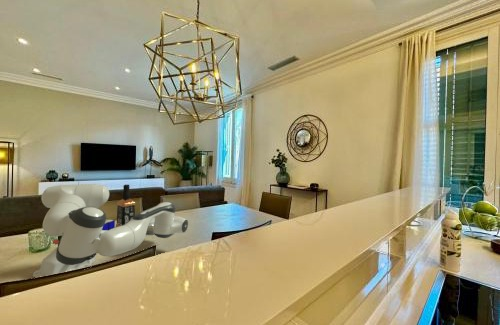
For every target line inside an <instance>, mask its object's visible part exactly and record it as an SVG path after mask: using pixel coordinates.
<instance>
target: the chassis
mask: <svg viewBox="0 0 500 325" xmlns="http://www.w3.org/2000/svg"><path fill="white" fill-rule="evenodd" d="M153 230H154V227H153V228H147V231H146V234H148V235H152V236H153V235H154V236H155V234H154V233H153Z"/></svg>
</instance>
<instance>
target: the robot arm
mask: <svg viewBox="0 0 500 325" xmlns="http://www.w3.org/2000/svg"><path fill="white" fill-rule="evenodd" d="M109 198H110V190H109V189H108V187H106V185H104V184H103V185H102V184H96V183H92V184H91V183H89V184H87V183H86V184H59V185H54V186H49V187H47V188H45V190H44V191H43V192H42V193H41V202H42V204H43V206H44V207H45V208H48V209H49V210H48V211H47V212H46V214H45V216H44V219H43V222H42V230H43V232H44V233H46V234H47V235H49V236H52V237H61V238H60V239H57V238H56V239H54V240H52V244H53V245H57V247H55V249H53V250H52V251H51V252H50V253H49V254H47V255H46V256H45V257H44V258H43V259H42V261H41V262H40V268H39V269H37V270H35V271H34V272H33V273H32V274H33V275H32V277H33V278H34V277H40V276H46V275H51V274H57V273H61V272H67V271H71V270H75V269H80V268H84V267H88V266H91V267H92V266H93V264H94V262H95V261H96V257H95V256H96V255H97V254H98V255H100V256H101V257H113V256H119V255H121V254H124V253H127V252H130V251H132V250H134V249H136V248H138V247H139V246H140V245H141V244H142V243H143V242H144V240H145V238H146V236H147V233H146V231H147V228H153V227H154V230H153V233H154V236H156V237H157V238H160V239H168V238H170V237H172V236H173V235H174V234H184V233H186V231H187V230H188V226H189V221H188V220H187V219H186V218H184V217H182V216H179V215H178V216H177V215H175V214H176V213H175V212H176V206H175V204H173V203H172V202H169V201H167V202H165V201H163V202H160V203H157V205H155V206H152V207H149V208H147V209H144V210H142V211H140V212H138V213H135V215H134V217H133V218H132V219H131V220H130V221H129V222H128V223H127V224H125V225H123V226H119V227H116V226H115V227H114V228H113V229H110V230H102V228H103V226H104V224H105V222H106V219H107V214H106V213H105V211H104V210H103V209H101V206H103V205H104V204H106V203H107V201H108V200H109Z"/></svg>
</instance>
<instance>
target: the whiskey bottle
mask: <svg viewBox="0 0 500 325" xmlns="http://www.w3.org/2000/svg"><path fill="white" fill-rule="evenodd" d="M122 190H123V192H122V199H120V200H119V201H116V205H117V206H116V223H115V228H116V227H119V226H123V225H125V224H126V223H127V222H129V221H130V220H131V219H132V218H133V217H134V215H136V203H137V202H136V201H135V200H133V199H132V198H130V197H131V192H130V184H124V185H123V188H122Z"/></svg>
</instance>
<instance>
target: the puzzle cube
mask: <svg viewBox="0 0 500 325" xmlns="http://www.w3.org/2000/svg"><path fill="white" fill-rule="evenodd" d="M113 228H116V221H115V219H107V218H106V222H105V224H104V226H103V228H102V230H110V229H113Z"/></svg>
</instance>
